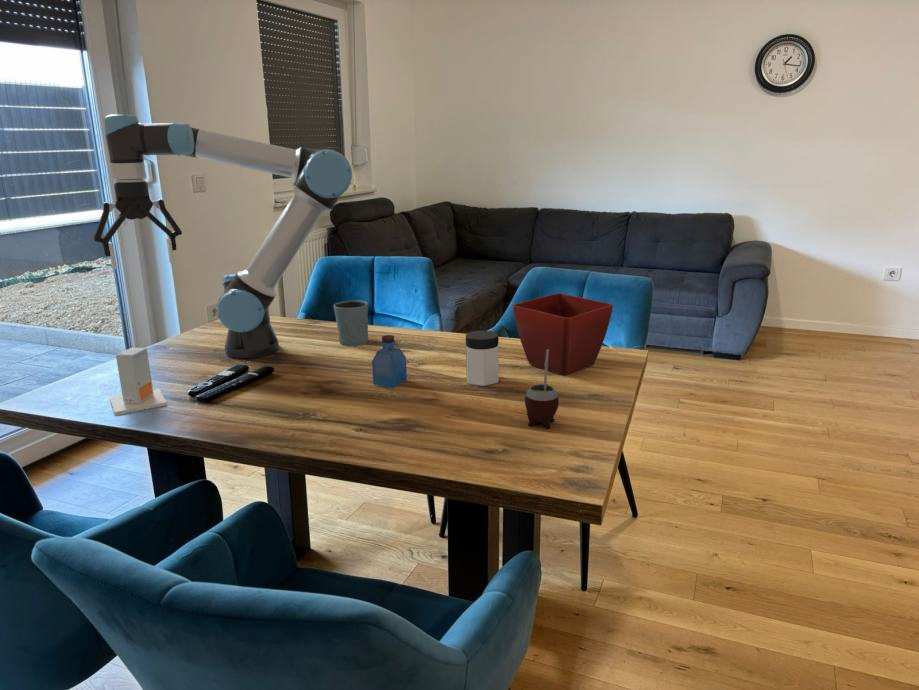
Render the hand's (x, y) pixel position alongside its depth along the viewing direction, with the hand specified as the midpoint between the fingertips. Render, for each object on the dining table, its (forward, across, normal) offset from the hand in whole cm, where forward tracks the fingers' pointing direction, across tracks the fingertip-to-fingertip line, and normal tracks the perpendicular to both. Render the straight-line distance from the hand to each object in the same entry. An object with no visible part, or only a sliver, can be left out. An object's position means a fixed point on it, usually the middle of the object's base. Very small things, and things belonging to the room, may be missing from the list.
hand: (143, 266), depth 172 cm
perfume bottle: (+29, -48, +42) cm, 70 cm away
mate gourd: (+29, -64, +83) cm, 109 cm away
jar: (+29, -68, +54) cm, 92 cm away
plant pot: (+29, -92, +56) cm, 112 cm away
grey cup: (+29, -54, +4) cm, 61 cm away
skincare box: (+28, +8, +21) cm, 36 cm away
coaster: (+29, +8, +21) cm, 36 cm away
